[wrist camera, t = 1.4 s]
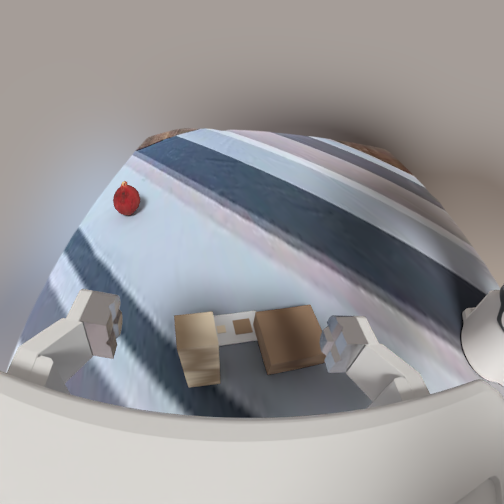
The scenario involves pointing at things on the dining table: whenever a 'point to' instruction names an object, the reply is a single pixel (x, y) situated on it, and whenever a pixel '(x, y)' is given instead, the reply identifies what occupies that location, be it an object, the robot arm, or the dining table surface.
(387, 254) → the dining table surface
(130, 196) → the red rounded piece
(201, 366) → the pillar
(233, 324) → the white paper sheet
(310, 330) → the plinth
